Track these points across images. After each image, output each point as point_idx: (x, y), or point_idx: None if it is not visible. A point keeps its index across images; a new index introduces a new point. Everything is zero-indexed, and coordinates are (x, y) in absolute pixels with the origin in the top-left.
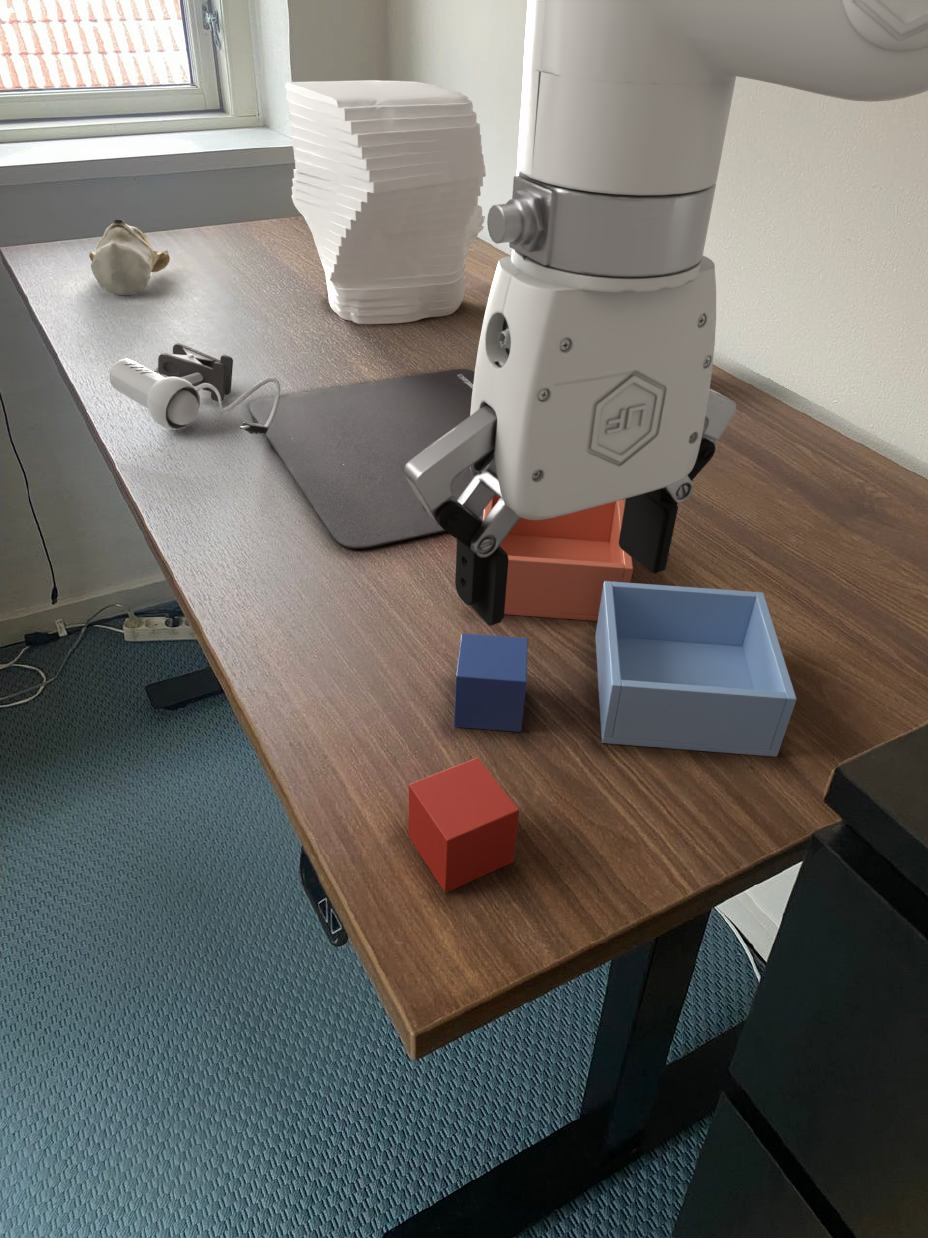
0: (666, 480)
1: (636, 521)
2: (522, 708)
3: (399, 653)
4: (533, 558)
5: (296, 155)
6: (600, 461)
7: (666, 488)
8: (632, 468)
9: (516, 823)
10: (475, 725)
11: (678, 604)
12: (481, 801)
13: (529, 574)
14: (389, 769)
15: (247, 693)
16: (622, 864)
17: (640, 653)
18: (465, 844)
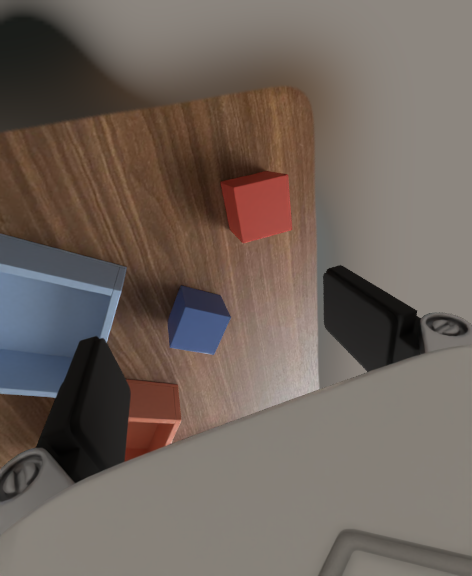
0: (102, 494)
1: (114, 416)
2: (183, 295)
3: (233, 354)
4: (141, 420)
5: None
6: (462, 539)
7: (69, 477)
8: (272, 525)
9: (231, 185)
10: (209, 293)
11: (23, 378)
12: (255, 202)
13: (144, 408)
14: (265, 270)
15: (315, 332)
16: (147, 157)
17: (69, 342)
18: (270, 176)
